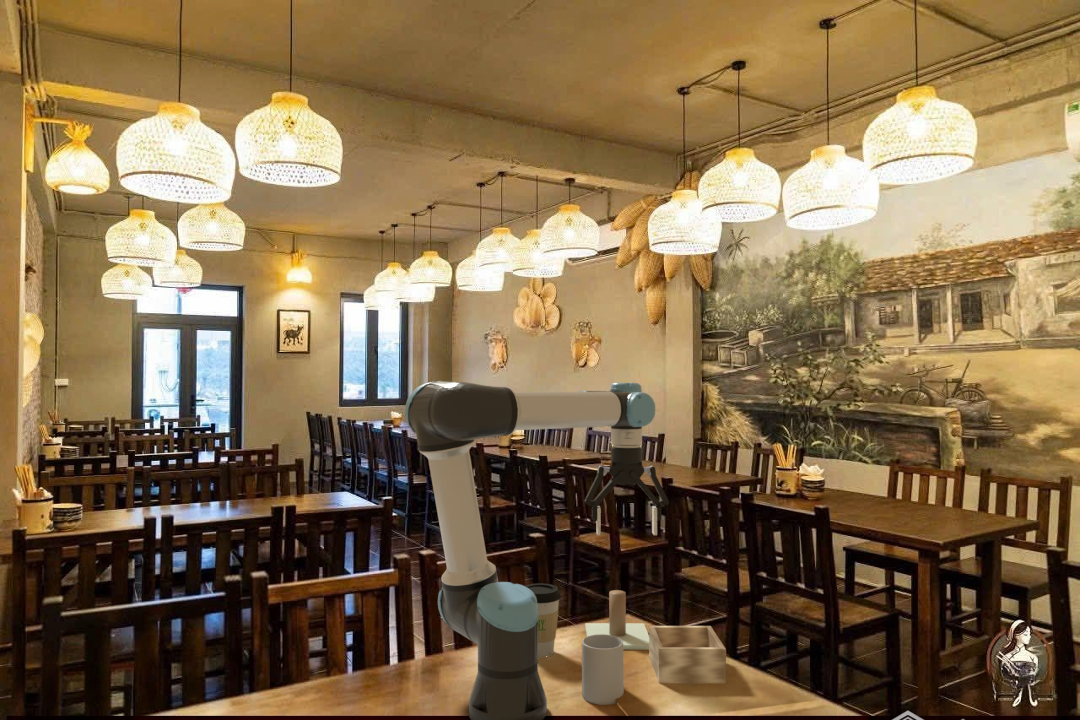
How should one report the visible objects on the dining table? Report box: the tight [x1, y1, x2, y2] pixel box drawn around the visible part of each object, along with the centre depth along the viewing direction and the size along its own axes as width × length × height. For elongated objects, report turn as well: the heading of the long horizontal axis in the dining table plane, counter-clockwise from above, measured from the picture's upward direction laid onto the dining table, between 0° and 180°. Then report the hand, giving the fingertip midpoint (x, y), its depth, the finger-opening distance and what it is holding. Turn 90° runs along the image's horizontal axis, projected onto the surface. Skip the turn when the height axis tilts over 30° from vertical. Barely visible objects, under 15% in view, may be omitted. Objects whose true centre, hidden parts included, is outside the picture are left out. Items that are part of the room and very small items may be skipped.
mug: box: [581, 634, 625, 706], centre depth 147 cm, size 12×8×11 cm
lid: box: [584, 589, 649, 651], centre depth 175 cm, size 15×15×12 cm
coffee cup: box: [524, 582, 562, 658], centre depth 168 cm, size 10×10×15 cm
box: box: [648, 625, 727, 684], centre depth 156 cm, size 14×14×8 cm
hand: (626, 534), depth 173 cm, fingers open, 13 cm apart
